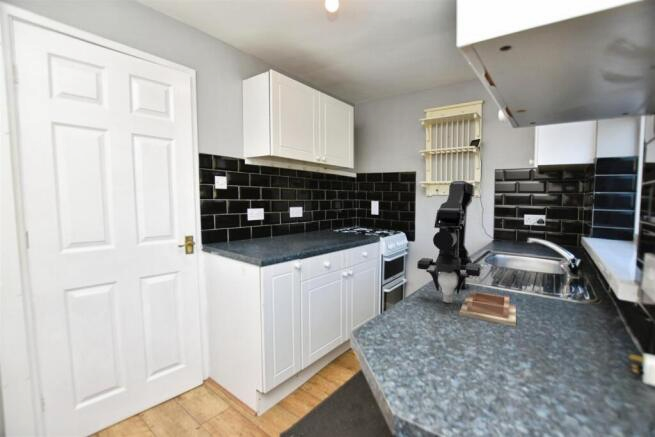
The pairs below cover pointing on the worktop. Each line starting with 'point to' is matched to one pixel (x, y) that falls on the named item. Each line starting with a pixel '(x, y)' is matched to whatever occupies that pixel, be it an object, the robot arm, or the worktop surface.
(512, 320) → the holder
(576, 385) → the worktop surface
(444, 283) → the lightbulb
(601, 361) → the worktop surface
